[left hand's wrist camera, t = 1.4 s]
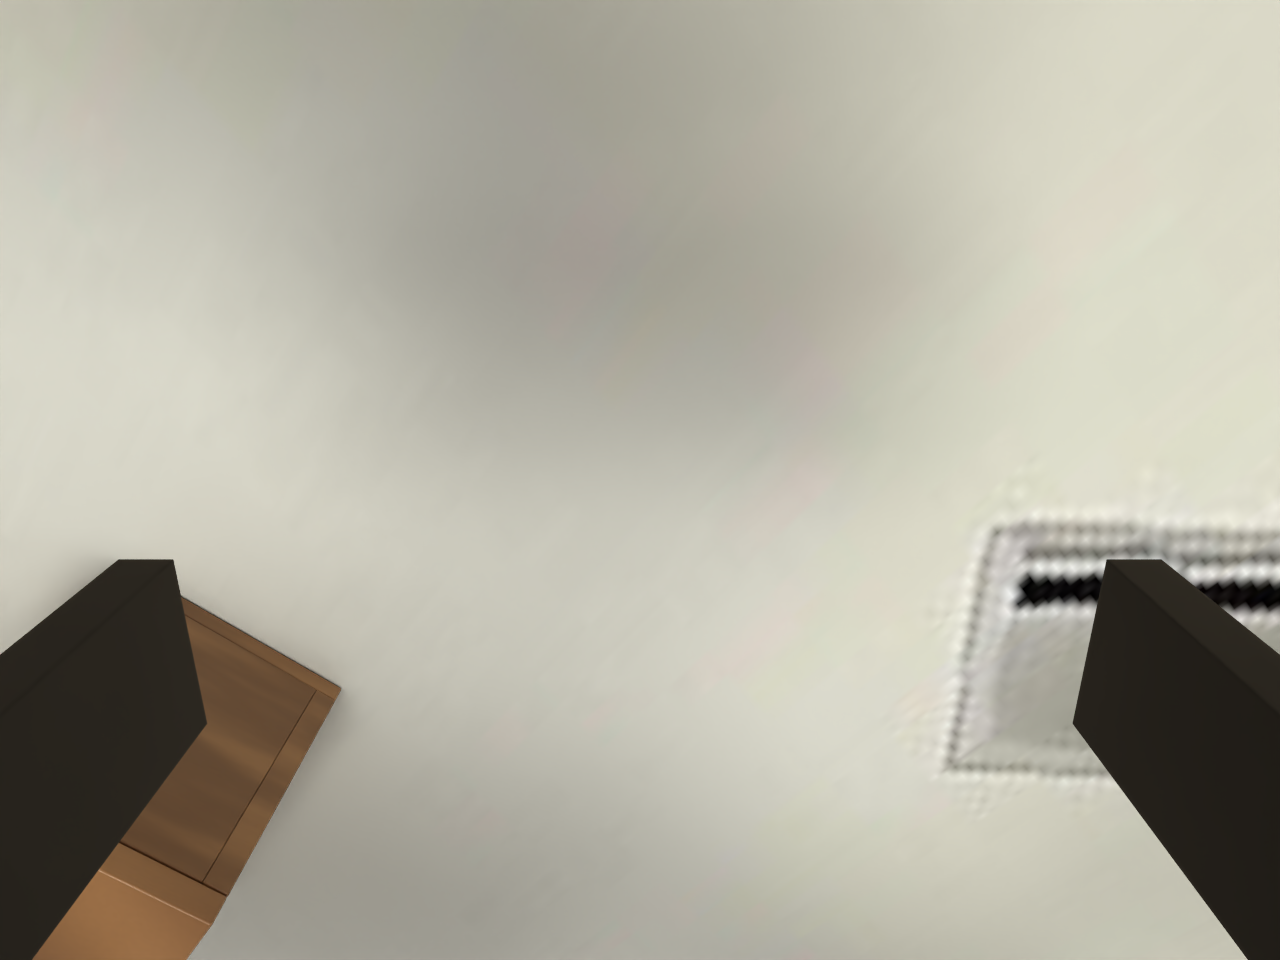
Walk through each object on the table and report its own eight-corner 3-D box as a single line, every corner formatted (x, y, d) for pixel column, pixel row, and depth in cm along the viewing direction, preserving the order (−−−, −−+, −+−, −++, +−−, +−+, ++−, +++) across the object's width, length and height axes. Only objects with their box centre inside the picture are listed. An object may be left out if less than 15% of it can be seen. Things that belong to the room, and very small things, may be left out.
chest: (203, 880, 41) (58, 1127, 31) (-4, 777, 39) (-234, 1003, 29) (341, 688, 38) (229, 894, 27) (121, 561, 36) (-92, 733, 25)
